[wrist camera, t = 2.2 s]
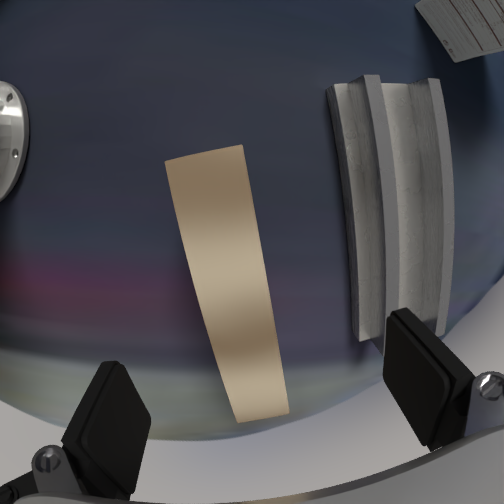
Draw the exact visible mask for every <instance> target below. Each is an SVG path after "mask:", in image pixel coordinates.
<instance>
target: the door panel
mask: <svg viewBox="0 0 504 504" xmlns="http://www.w3.org/2000/svg"><path fill="white" fill-rule="evenodd" d="M165 166H166V171H167V175H168V180H169V185H170V189H171V194H172V198H173V203H174V207H175V211H176V216H177V220H178V224H179V228H180V232H181V237H182V241H183V245H184V249H185V253H186V256H187V260H188V264H189V268H190V272H191V276H192V279H193V283H194V287H195V290H196V294H197V297H198V301H199V305H200V308H201V312H202V315H203V318H204V322H205V325H206V329H207V332H208V335H209V339H210V342H211V345H212V348H213V352H214V355H215V358H216V361H217V364H218V367H219V370H220V373H221V377H222V380H223V383H224V386H225V389H226V392H227V395H228V398H229V400H230V403H231V406H232V409H233V412H234V415H235V418H236V420H237V423H241V422H247V421H253V420H259V419H265V418H270V417H276V416H281V415H285V414H290V412H289V406H288V400H287V394H286V388H285V382H284V376H283V370H282V364H281V358H280V352H279V346H278V341H277V335H276V329H275V323H274V317H273V312H272V306H271V300H270V295H269V289H268V283H267V278H266V272H265V266H264V261H263V255H262V250H261V244H260V238H259V233H258V227H257V222H256V216H255V211H254V205H253V200H252V195H251V189H250V184H249V178H248V173H247V168H246V162H245V157H244V152H243V146H242V145H238V146H232V147H227V148H222V149H217V150H212V151H207V152H203V153H198V154H194V155H189V156H185V157H181V158H176V159H172V160H168V161H165Z"/></svg>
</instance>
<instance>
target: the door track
mask: <svg viewBox="0 0 504 504" xmlns="http://www.w3.org/2000/svg"><path fill="white" fill-rule="evenodd" d="M326 93H327V98H328V103H329V108H330V113H331V119H332V124H333V130H334V136H335V142H336V149H337V155H338V162H339V169H340V176H341V184H342V192H343V200H344V209H345V219H346V229H347V240H348V253H349V267H350V284H351V308H352V331H353V333H354V334H355V336H356V337H357V339H358V340H359V342H360V341H363V340H367V339H371V340H372V342H373V343H374V345H375V346H376V347H377V349H378V350H379V352H380V353H381V354H382V356H383V357H384V353H385V336H386V319H387V317H388V316H390V313H391V312H392V311H394V310H398V309H401V308H404V307H407V308H408V309H409V310H410V311H412V312H413V313H414V314H415V315H416V316H417V317H418V318H419V319H420V320H421V321H422V322H423V323H424V324H425V325H426V326H427V327H428V328H429V329H430V330H431V331H432V332H433V333H434V334H435V335H436V336H437V337H438V336H441V335H443V334H444V333H445V327H446V320H447V314H448V306H449V298H450V289H451V279H452V267H453V251H454V185H453V169H452V157H451V147H450V138H449V131H448V124H447V117H446V111H445V105H444V99H443V94H442V89H441V84H440V80H439V79H433V78H426V79H423V80H419V81H416V82H413V83H410V84H390V83H381V81H380V77H379V75H363V76H361V77H359V78H357V79H355V80H353V81H351V82H349V83H348V84H333V85H332V86H330V87H329V88H327V89H326Z"/></svg>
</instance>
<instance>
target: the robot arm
mask: <svg viewBox="0 0 504 504" xmlns="http://www.w3.org/2000/svg"><path fill="white" fill-rule="evenodd" d="M28 141H29V117H28V112H27V107H26V104H25V101H24V98H23V97H22V95H21V93H20V92H19V90H18V89H17V88H15V87H14V86H13V85H11V84H9V83H7V82H2V81H0V202H1V201H2V200H3V199H5V198H6V196H7V195H8V194H9V193H10V192H11V190H12V189H13V187H14V186H15V184H16V182H17V180H18V178H19V176H20V173H21V171H22V168H23V165H24V162H25V159H26V154H27V148H28ZM383 379H384V382H385V384H386V385H387V387H388V389H389V390H390V392H391V394H392V395H393V397H394V399H395V400H396V402H397V404H398V405H399V407H400V408H401V410H402V412H403V414H404V415H405V417H406V419H407V421H408V422H409V424H410V426H411V427H412V429H413V431H414V433H415V434H416V436H417V437H418V439H419V441H420V443H421V444H422V445H423V446H426V445H427V447H428V448H429V450H430V452H431V453H428V454H426V455H424V456H422V457H419V458H417V459H414V460H412V461H409V462H407V463H404V464H401V465H399V466H396V467H393V468H391V469H388V470H385V471H382V472H379V473H376V474H373V475H371V476H367V477H364V478H361V479H358V480H354V481H351V482H347V483H344V484H340V485H336V486H332V487H328V488H324V489H320V490H315V491H311V492H306V493H301V494H296V495H290V496H284V497H277V498H271V499H263V500H255V501H246V502H233V503H218V504H504V375H503V374H501V373H499V372H494V371H493V372H485V373H481V374H480V375H479V376H477V377H475V376H474V375H473V373H472V372H471V371H470V370H469V369H468V368H467V367H466V366H465V365H464V364H463V363H462V362H461V361H460V360H459V358H458V357H457V356H456V355H455V354H454V353H453V352H452V351H451V350H450V349H449V348H448V347H447V346H446V345H445V344H444V343H443V342H442V341H441V340H440V339H439V338H438V337H437V336H436V335H435V334H434V333H433V332H432V331H431V330H430V329H429V328H428V327H427V326H426V325H425V324H424V323H423V322H422V321H421V320H420V319H419V318H418V317H417V316H416V315H415V314H414V313H413V312H412V311H410V310H409V309H408V308H407V307H404V308H401V309H398V310H394V311H392V312H391V313H390V316H388V317H387V319H386V336H385V353H384V366H383ZM150 426H151V417H150V414H149V412H148V410H147V409H146V407H145V405H144V403H143V401H142V399H141V398H140V396H139V394H138V392H137V390H136V388H135V386H134V384H133V382H132V380H131V378H130V376H129V374H128V372H127V370H126V368H125V366H124V365H122V364H120V363H119V362H118V361H105V362H102V363H101V365H100V367H99V368H98V370H97V372H96V374H95V376H94V377H93V379H92V381H91V383H90V385H89V387H88V388H87V390H86V392H85V394H84V396H83V398H82V400H81V402H80V404H79V405H78V407H77V409H76V411H75V413H74V415H73V417H72V419H71V421H70V423H69V425H68V427H67V429H66V431H65V433H64V435H63V437H62V439H61V442H62V443H63V446H62V448H61V447H59V446H57V445H48V446H44V447H43V448H41V449H39V450H38V451H37V452H36V453H35V455H34V457H33V459H32V462H31V463H32V471H30V472H28V473H26V474H24V475H22V476H20V477H18V478H16V479H14V480H12V481H10V482H8V483H6V484H4V485H2V486H1V487H0V504H164V503H147V502H135V501H129V500H130V495H131V494H133V493H134V492H135V488H136V484H137V479H138V475H139V470H140V466H141V462H142V458H143V454H144V450H145V445H146V441H147V437H148V433H149V429H150ZM440 447H442V448H440ZM438 448H439V449H438ZM436 449H437V450H436ZM434 450H435V451H434ZM432 451H433V452H432ZM117 499H118V500H117Z"/></svg>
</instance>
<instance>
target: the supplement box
mask: <svg viewBox="0 0 504 504" xmlns="http://www.w3.org/2000/svg"><path fill="white" fill-rule="evenodd" d="M415 7H416V8H417V10H418V11H419V12H420V14H421V15H422V16H423V18H424V19H425V20H426V22H427V23H428V24H429V26H430V27H431V29H432V30H433V31H434V33H435V34H436V36H437V37H438V39H439V40H440V42H441V43H442V44H443V46H444V48H445V49H446V51H447V52H448V54H449V55H450V57H451V58H452V60H453V61H454V62H455V63H457V62H460V61H464V60H467V59H471V58H474V57H478V56H482V55H486V54H491V53H495V52H499V51H504V0H421V1H420V2H418V3H417V4H415Z"/></svg>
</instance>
